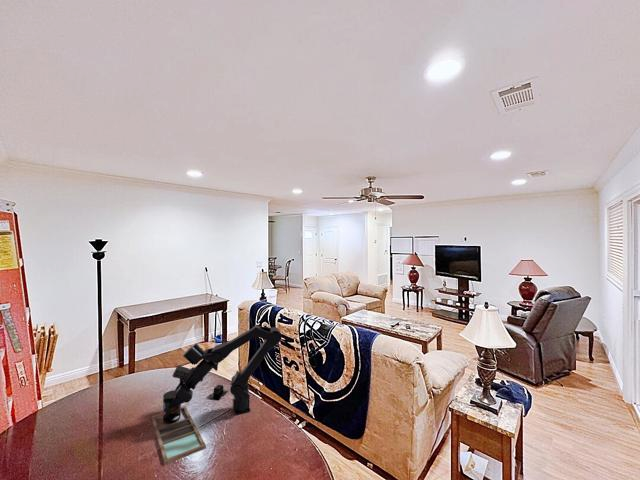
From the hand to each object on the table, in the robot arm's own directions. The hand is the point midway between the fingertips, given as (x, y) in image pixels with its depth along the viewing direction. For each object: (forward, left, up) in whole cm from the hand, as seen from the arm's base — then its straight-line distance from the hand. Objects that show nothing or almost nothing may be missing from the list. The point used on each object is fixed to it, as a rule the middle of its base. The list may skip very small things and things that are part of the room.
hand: (170, 401), depth 116 cm
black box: (-21, -12, -8) cm, 25 cm away
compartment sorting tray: (-2, +10, -7) cm, 13 cm away
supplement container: (-1, 0, -8) cm, 8 cm away
